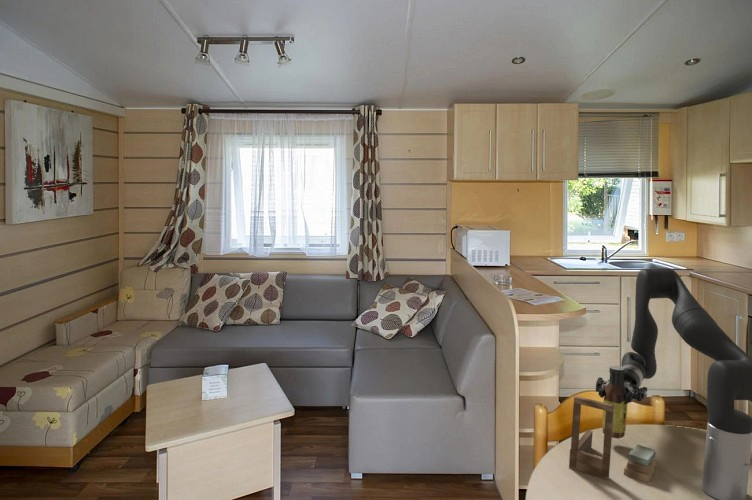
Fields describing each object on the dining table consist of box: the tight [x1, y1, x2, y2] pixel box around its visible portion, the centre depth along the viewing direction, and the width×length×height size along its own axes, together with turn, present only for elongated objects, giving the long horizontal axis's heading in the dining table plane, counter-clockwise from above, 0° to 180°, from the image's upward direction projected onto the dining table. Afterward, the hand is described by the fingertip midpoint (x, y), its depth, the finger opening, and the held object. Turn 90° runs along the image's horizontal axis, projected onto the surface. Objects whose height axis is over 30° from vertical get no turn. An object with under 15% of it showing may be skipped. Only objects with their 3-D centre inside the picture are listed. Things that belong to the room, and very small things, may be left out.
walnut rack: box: [568, 395, 614, 481], centre depth 148 cm, size 10×15×20 cm, turn 144°
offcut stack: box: [623, 443, 657, 483], centre depth 144 cm, size 6×9×5 cm
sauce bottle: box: [601, 365, 628, 439], centre depth 158 cm, size 7×6×20 cm
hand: (613, 397), depth 155 cm, fingers closed on sauce bottle, 6 cm apart
